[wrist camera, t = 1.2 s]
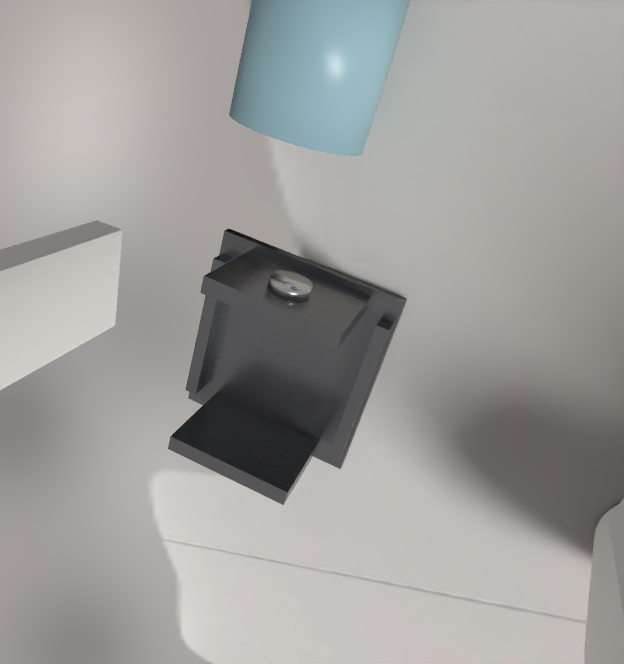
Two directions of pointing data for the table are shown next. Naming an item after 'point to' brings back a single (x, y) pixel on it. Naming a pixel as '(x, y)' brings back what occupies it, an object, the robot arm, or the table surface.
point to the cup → (604, 602)
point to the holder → (281, 365)
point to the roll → (316, 70)
